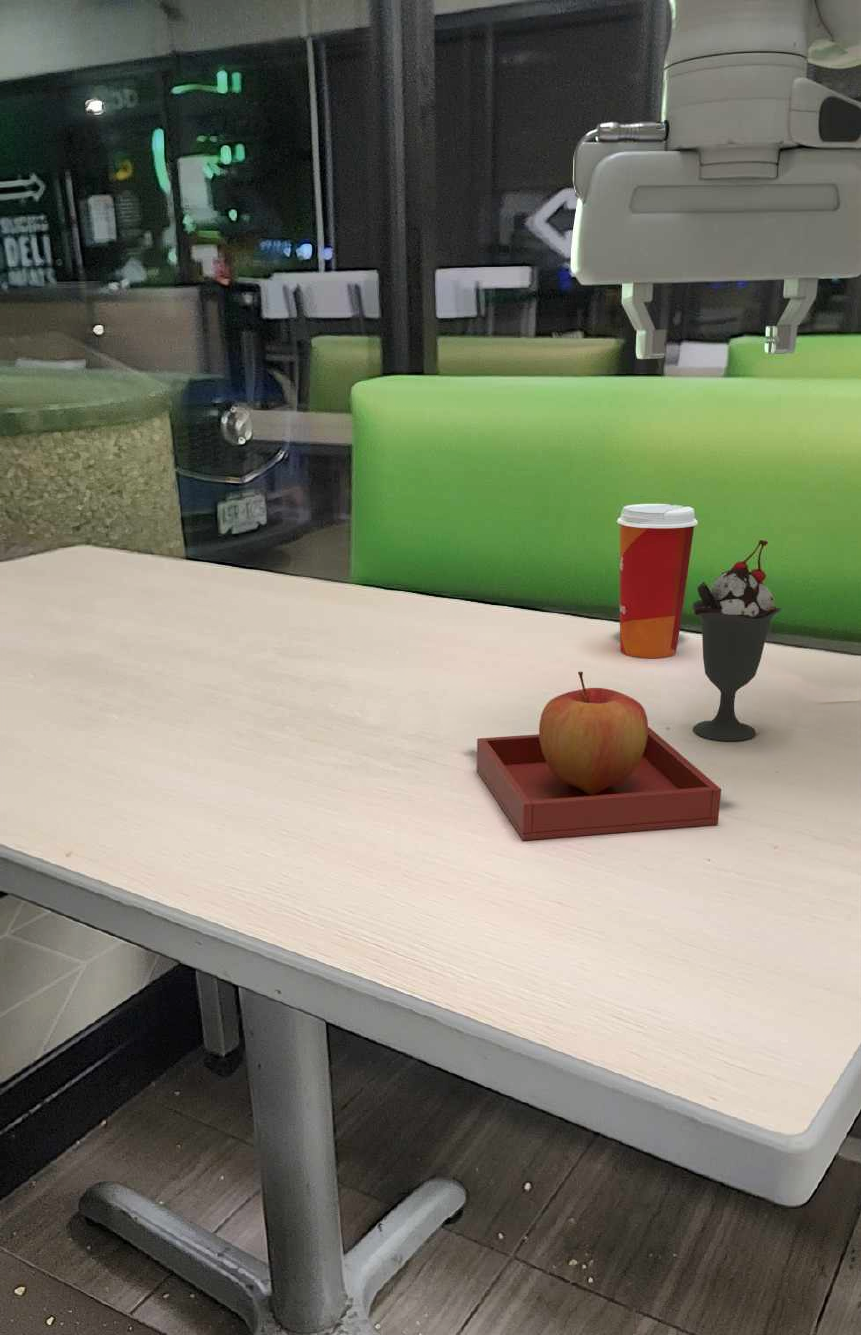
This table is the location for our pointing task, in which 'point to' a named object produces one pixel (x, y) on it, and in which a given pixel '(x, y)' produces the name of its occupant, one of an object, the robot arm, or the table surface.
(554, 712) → the apple
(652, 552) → the paper cup
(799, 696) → the table surface
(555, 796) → the red tray
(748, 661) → the sundae
